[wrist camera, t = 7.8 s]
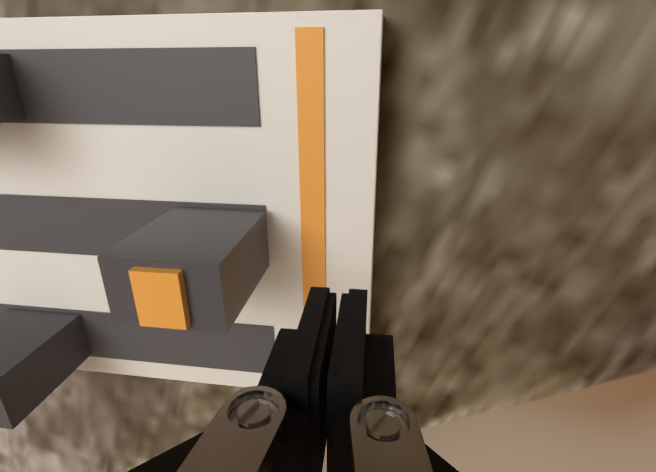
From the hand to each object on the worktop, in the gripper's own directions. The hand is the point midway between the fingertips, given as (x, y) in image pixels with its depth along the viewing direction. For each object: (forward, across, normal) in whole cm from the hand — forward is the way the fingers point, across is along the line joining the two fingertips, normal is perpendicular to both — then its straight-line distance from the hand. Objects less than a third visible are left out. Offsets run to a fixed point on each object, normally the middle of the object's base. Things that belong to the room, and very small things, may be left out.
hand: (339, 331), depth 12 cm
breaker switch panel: (+8, +11, -1) cm, 14 cm away
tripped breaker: (+6, +6, -1) cm, 8 cm away
